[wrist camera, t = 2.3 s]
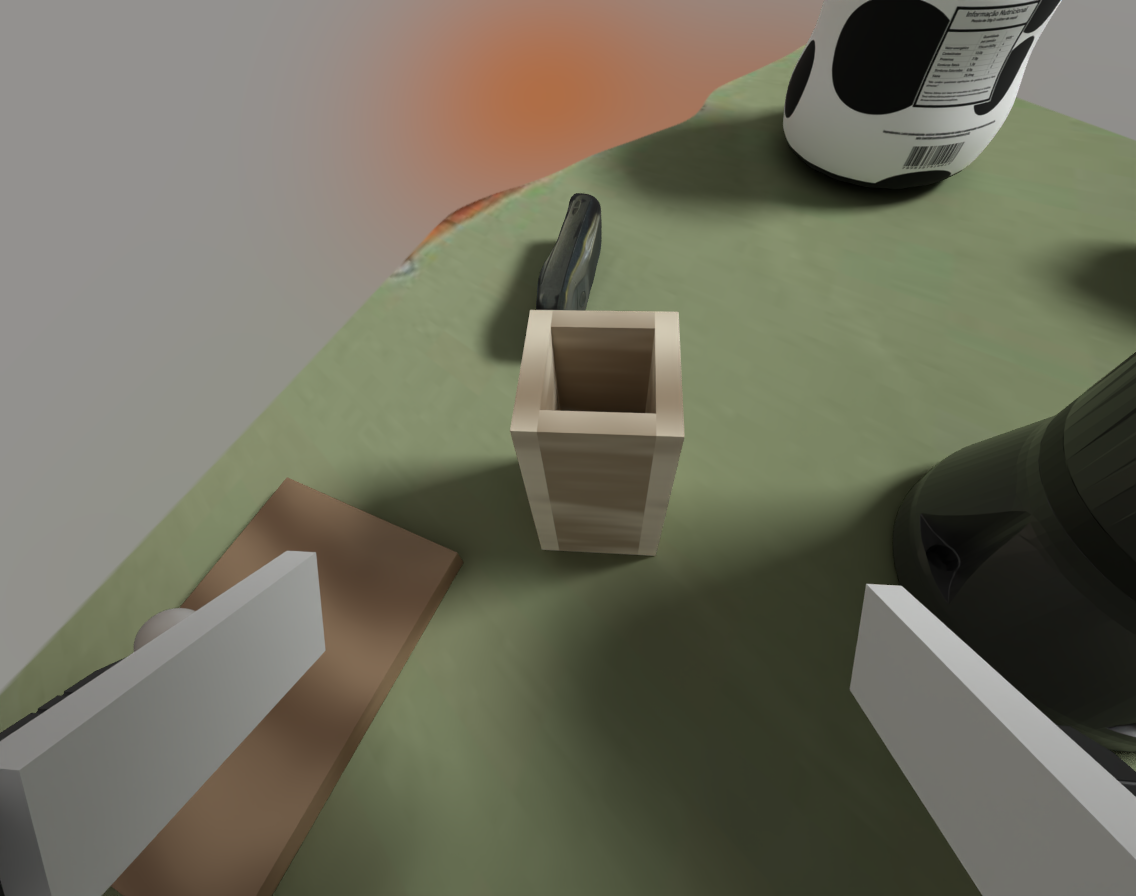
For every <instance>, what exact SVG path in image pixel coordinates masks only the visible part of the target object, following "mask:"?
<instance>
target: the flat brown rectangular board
mask: <svg viewBox="0 0 1136 896" xmlns="http://www.w3.org/2000/svg"><path fill="white" fill-rule="evenodd" d="M286 551H302V552H316V557H317V567H318V578H319V588H320V598H321V609H322V619H323V629H324V640H325V650H326V651H325V652H324V653H323V654H322V655H321V656H320V657H319V658H318V659H317V660H316V662H315V663H314V664H313V665H312V666H311V667H310V668H309V669H308V670H307V671H306V673H305V674H304V675H303V676H302V677H301V678H300V679H299V680H298V681H297V682H296V683H295V685H294V686H293V687H292V688H291V689H290V690H289V691H288V692H287V693H286V694H285V696H284V697H283V698H282V699H281V700H280V701H279V702H278V703H277V704H276V705H275V706H274V708H273V709H272V710H271V711H270V712H269V713H268V714H267V715H266V716H265V717H264V718H263V720H262V721H261V722H260V723H259V724H258V725H257V726H256V727H255V728H254V729H253V731H252V732H251V733H250V734H249V735H248V736H247V737H246V738H245V739H244V740H243V741H242V743H241V744H240V745H239V746H238V747H237V748H236V749H235V750H234V751H233V752H232V753H231V755H230V756H229V757H228V758H227V759H226V760H225V761H224V762H223V763H222V764H221V766H220V767H219V768H218V769H217V770H216V771H215V772H214V773H213V774H212V775H211V776H210V778H209V779H208V780H207V781H206V782H205V783H204V784H203V785H202V786H201V787H200V789H199V790H198V791H197V792H196V793H195V794H194V795H193V796H192V797H191V798H190V799H189V801H188V802H187V803H186V804H185V805H184V806H183V807H182V808H181V809H180V810H179V811H178V813H177V814H176V815H175V816H174V817H173V818H172V819H171V820H170V821H169V822H168V824H167V825H166V826H165V827H164V828H163V829H162V830H161V831H160V832H159V833H158V834H157V836H156V837H155V838H154V839H153V840H152V841H151V842H150V843H149V844H148V845H147V846H146V848H145V849H144V850H143V851H142V852H141V853H140V854H139V855H138V856H137V857H136V859H135V860H134V861H133V862H132V863H131V864H130V865H129V866H128V867H127V868H126V869H125V871H124V872H123V873H122V874H121V875H120V876H119V877H118V878H117V879H116V880H115V882H114V883H113V884H112V885H111V886H112V887H113V888H114V889H115V890H117V891H118V892H119V893H120V894H122V895H123V896H272V895H273V893H274V891H275V890H276V888H277V886H278V884H279V883H280V881H281V879H282V877H283V876H284V874H285V872H286V870H287V869H288V867H289V865H290V863H291V862H292V860H293V858H294V856H295V855H296V853H297V851H298V850H299V848H300V846H301V844H302V843H303V841H304V839H305V837H306V836H307V834H308V832H309V830H310V829H311V827H312V825H313V823H314V822H315V820H316V818H317V816H318V815H319V813H320V811H321V809H322V808H323V806H324V804H325V803H326V801H327V799H328V797H329V796H330V794H331V792H332V790H333V789H334V787H335V785H336V783H337V782H338V780H339V778H340V776H341V775H342V773H343V771H344V769H345V768H346V766H347V764H348V762H349V761H350V759H351V757H352V756H353V754H354V752H355V750H356V749H357V747H358V745H359V743H360V742H361V740H362V738H363V736H364V735H365V733H366V731H367V729H368V728H369V726H370V724H371V722H372V721H373V719H374V717H375V715H376V714H377V712H378V710H379V709H380V707H381V705H382V703H383V702H384V700H385V698H386V696H387V695H388V693H389V691H390V689H391V688H392V686H393V684H394V682H395V681H396V679H397V677H398V675H399V674H400V672H401V670H402V669H403V667H404V665H405V663H406V662H407V660H408V658H409V656H410V655H411V653H412V651H413V649H414V648H415V646H416V644H417V642H418V641H419V639H420V637H421V635H422V634H423V632H424V630H425V628H426V627H427V625H428V623H429V622H430V620H431V618H432V616H433V615H434V613H435V611H436V609H437V608H438V606H439V604H440V602H441V601H442V599H443V597H444V595H445V594H446V592H447V590H448V588H449V587H450V585H451V583H452V581H453V580H454V578H455V576H456V575H457V573H458V571H459V569H460V568H461V566H462V564H463V561H462V559H461V558H460V556H459V555H458V553H457V552H455V551H452V550H450V549H448V548H446V547H443V546H441V545H439V544H437V543H434V542H432V541H430V540H428V539H425V538H423V537H421V536H419V535H416V534H414V533H412V532H409V531H407V530H405V529H403V528H400V527H398V526H396V525H394V524H391V523H389V522H387V521H385V520H382V519H380V518H378V517H376V516H373V515H371V514H369V513H366V512H364V511H362V510H360V509H357V508H355V507H353V506H351V505H348V504H346V503H344V502H342V501H339V500H337V499H335V498H333V497H330V496H328V495H326V494H323V493H321V492H319V491H317V490H314V489H312V488H310V487H308V486H305V485H303V484H301V483H299V482H296V481H294V480H292V479H290V478H286V479H285V480H284V482H283V483H282V484H281V485H280V487H279V488H278V489H277V490H276V491H275V493H274V494H273V495H272V496H271V497H270V499H269V500H268V501H267V502H266V503H265V505H264V506H263V507H262V508H261V510H260V511H259V512H258V513H257V514H256V516H255V517H254V518H253V519H252V520H251V522H250V523H249V524H248V525H247V527H246V528H245V529H244V530H243V531H242V533H241V534H240V535H239V536H238V537H237V539H236V540H235V541H234V542H233V544H232V545H231V546H230V547H229V548H228V550H227V551H226V552H225V553H224V554H223V556H222V557H221V558H220V559H219V561H218V562H217V563H216V564H215V565H214V567H213V568H212V569H211V570H210V571H209V573H208V574H207V575H206V576H205V578H204V579H203V580H202V581H201V582H200V584H199V585H198V586H197V587H196V588H195V590H194V591H193V592H192V593H191V595H190V596H189V597H188V598H187V599H186V601H185V602H184V603H183V604H182V605H181V607H180V608H174V609H169V610H165V611H163V612H160V613H158V614H156V615H154V616H153V617H151V618H150V619H149V620H148V621H147V622H145V623H144V625H143V626H142V627H141V628H140V630H139V631H138V633H137V635H136V638H135V641H134V652H135V651H137V650H138V649H140V648H141V647H143V646H144V645H146V644H147V643H149V642H150V641H152V640H153V639H155V638H156V637H158V636H159V635H161V634H162V633H164V632H165V631H167V630H168V629H170V628H171V627H173V626H174V625H176V624H177V623H179V622H180V621H182V620H183V619H185V618H186V617H188V616H189V615H191V614H192V613H194V612H195V611H197V610H198V609H200V608H201V607H203V606H204V605H206V604H207V603H209V602H210V601H212V600H213V599H215V598H216V597H218V596H219V595H221V594H222V593H224V592H225V591H227V590H228V589H230V588H231V587H233V586H234V585H236V584H237V583H239V582H241V581H242V580H244V579H245V578H247V577H248V576H250V575H251V574H253V573H254V572H256V571H257V570H259V569H260V568H262V567H263V566H265V565H266V564H268V563H269V562H271V561H272V560H274V559H275V558H277V557H278V556H280V555H281V554H283V553H284V552H286Z"/></svg>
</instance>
